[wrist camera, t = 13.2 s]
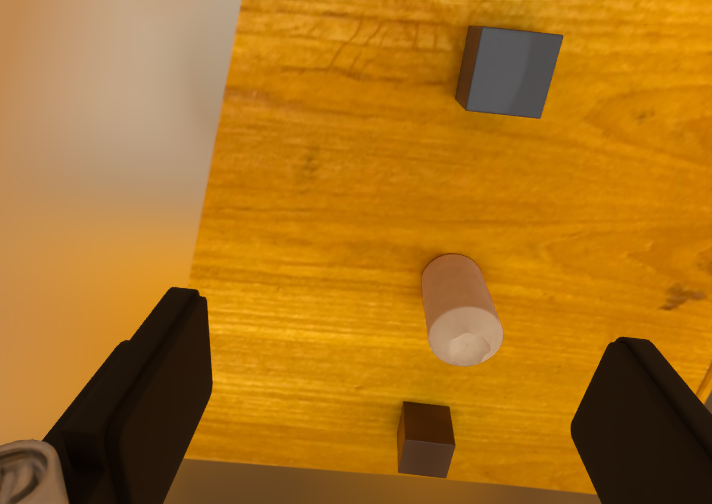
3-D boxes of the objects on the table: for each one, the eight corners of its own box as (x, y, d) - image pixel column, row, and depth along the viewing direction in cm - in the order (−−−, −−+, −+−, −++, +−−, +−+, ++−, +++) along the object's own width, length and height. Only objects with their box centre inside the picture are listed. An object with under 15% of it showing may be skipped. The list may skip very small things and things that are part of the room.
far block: (396, 433, 51) (398, 473, 46) (403, 401, 48) (405, 439, 44) (440, 438, 51) (446, 478, 46) (449, 406, 48) (455, 445, 44)
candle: (420, 254, 40) (430, 320, 31) (483, 251, 40) (511, 318, 31) (421, 305, 43) (430, 380, 34) (480, 303, 42) (505, 379, 33)
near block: (454, 99, 34) (465, 110, 29) (468, 25, 32) (482, 26, 27) (520, 106, 34) (540, 118, 29) (539, 33, 32) (564, 35, 27)
